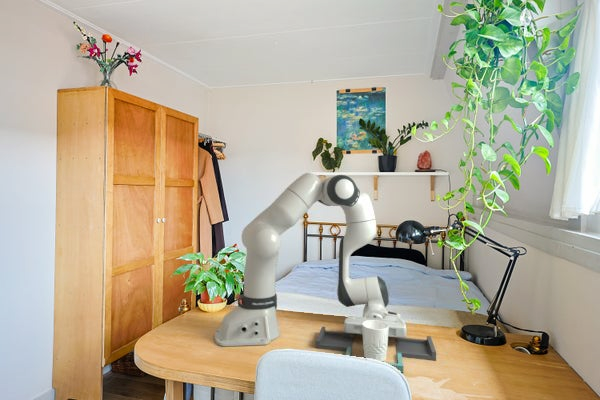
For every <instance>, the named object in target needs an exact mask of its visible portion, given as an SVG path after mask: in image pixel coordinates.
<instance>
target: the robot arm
mask: <svg viewBox="0 0 600 400" xmlns="http://www.w3.org/2000/svg"><path fill="white" fill-rule="evenodd" d="M317 202H318V203H320V204H322V205H324V206H327V207H340V208H341V209H342V211H343V213H344V215H345V216H344V217H345V225H346V228H345V229H346V230H345V233H344V236H342V237H340V241H339V249H338V250H339V251H338V281H337V288H336V297H337V299H338V301H339V303H340V304H341V305H343V306H344V307H346V308H350V307H354V306H355V307H356V306H361V305H364V306H363V310H362V316H359V315H358V316H357V315H356V316H355V315H349V316H347V317H346V318H345V319H344V322H343V332H346V333H354V335H355V334H356V335H363V331H362V323H363V322H364V321H368V320H378V321H383V322H385V323H387V324H388V325H389V331H388V338H389V337H390V338H395V337H398V338H407V324H406V321H405V320H404V319H403V318H401V317H402V316H401V313H397V312H394V311H388V309H387V306H388V305H389V303H390V301H389V291H388V288H387V284H386V281H385V280H384V279H383V278H381V277H380V276H378V275H377V276H376V275H375V276H366V277H360V278H359V277H358V278H351V277H350V260H351V258H350V257H351V255H352V254H353V253H354V252H355V251H357V250H359V249H360V248H363V247H364V246H366V245H368V244H370V242H372V241H373V240H374V239H375V237H376V235H377V233H378V231H377V230H378V229H377V221H376V213H375V210H374V205H373V203H372V200H371V198H370V195H369V194H368V193H367V192H365V191H360V189H359V188H358V186H357V185H356V182H355V181H354V180H353V179H352V178H351V177H350V176H348V175H345V174H337V175H332V176H329V177H326V178H324V179H320V178H319V177H318V175H316V174H314V173H311V172H305V173H303V174H302V175H300V176H299V177H298V178H296V179H295V180H293V182H292V183H290V184H289V185H288V187H286V188H285V189H284V191H282V193H280V194H279V195H278V197H276V199H275V200H274V201H273V202H272V203H271V204H270V205H269V206H268V207H266V208H265V209H264V210H262V211H261V212H260V213H259V214H258V215H257V216H255V218H254V219H253V220H251V221H250V222H249V223H248V224H247V225H246V226H245V227H243V230H242V233H241V241H242V245H243V246H244V248H246V257H245V265H244V271H243V294H240V293H236V294H235V296H234V297H235V300H236V301H237V306H235V307H234V308H233V309H232V310H231V311H229V312H228V313H227V314H226V315H224V316H223V319H222V320H221V326H220V327H219V328H218V329H216V330H215V331H214V342H215V343H216V344H217V345H219V346H221V347H236V346H237V347H238V346H239V347H240V346H241V347H242V346H263V345H264V346H265V345H268V344H269V343H270V342H272V341H273V340H275V339H277V338H278V337H280V335H281V332H280V328H279V324H278V317H277V309H278V296H277V295H278V294H277V293H276V288H277V287H276V283H277V282H276V279H277V278H276V275H277V265H278V259H279V255H280V254H279V253H280V252H279V251H280V249H281V245H282V240H281V236H282V234H284V233H285V232H287V230H289V229H290V228H292V227H294V226H295V225H296V224H297V223H298V222H299V221H300V219H301V218H302V217H304V215H305V214H306V213H307V212H308V211H309V209H311V208H312V206H313V205H314V204H316V203H317Z"/></svg>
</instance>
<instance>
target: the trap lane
mask: <svg viewBox="0 0 600 400" xmlns="http://www.w3.org/2000/svg"><path fill="white" fill-rule="evenodd" d="M394 338H395V345H396V357H397V358H396V359H397V363H396V362H386V363H388V364H390V365H392V366H394V367H396V368H397V369H398V370H400V371H401V372H402V373H401V374H404V363H403V358H405V359H406V358H408V359H416V360H417V359H418V360H429V361H436V360H437V351H436V347H435V345H434V342H433V339H432V337H431V336H430V335H427V336H426V339H422V338H414V337H413V338H410V337H405V338H398V337H394ZM354 339H355V334H354V333H346V332H345V331H333V330H326V326H321V328H320V331H319V333H318V335H317V337H316V339H315V349H320V350H329V351H330V350H331V351H339V352H345V356H346V355H350V356H351V354H352V349H353V345H354V344H353V343H354Z"/></svg>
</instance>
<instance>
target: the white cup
mask: <svg viewBox="0 0 600 400" xmlns="http://www.w3.org/2000/svg"><path fill="white" fill-rule="evenodd" d="M362 331H363V334H362V348H363V358H364V357H367V358H373V359H377V360H380V361H382V362H385V361H386V360H387V355H388V354H387V353H388V348H389V347H388V345H389V337H388V331H389V325H388V324H387V323H385V322H383V321H378V320H368V321H364V322H363V323H362Z"/></svg>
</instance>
